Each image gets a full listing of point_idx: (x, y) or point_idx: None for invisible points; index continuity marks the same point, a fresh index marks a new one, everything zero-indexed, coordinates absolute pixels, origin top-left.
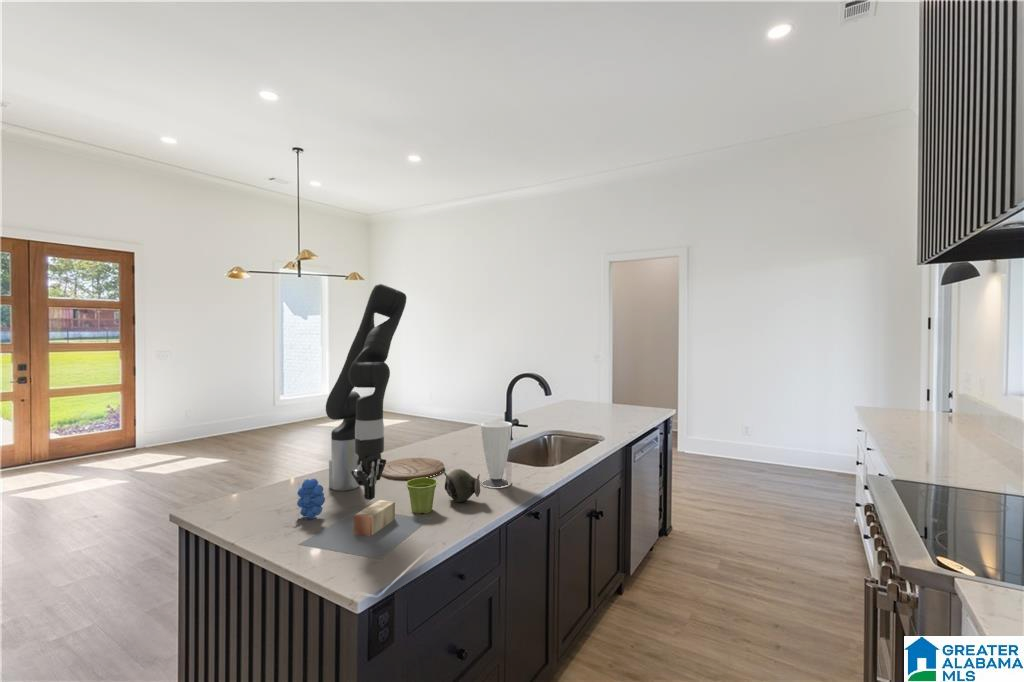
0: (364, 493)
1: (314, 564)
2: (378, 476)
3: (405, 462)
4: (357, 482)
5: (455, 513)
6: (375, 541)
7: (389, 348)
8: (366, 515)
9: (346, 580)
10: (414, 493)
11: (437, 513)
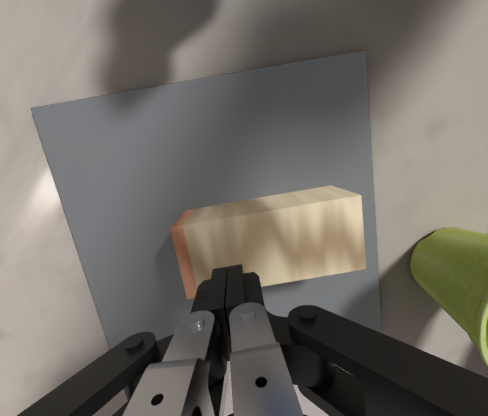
0: (195, 297)
1: (7, 249)
2: (313, 399)
3: None
4: (86, 371)
5: (452, 355)
6: (183, 300)
7: None
8: (197, 272)
9: (14, 369)
10: (462, 305)
11: (435, 313)
